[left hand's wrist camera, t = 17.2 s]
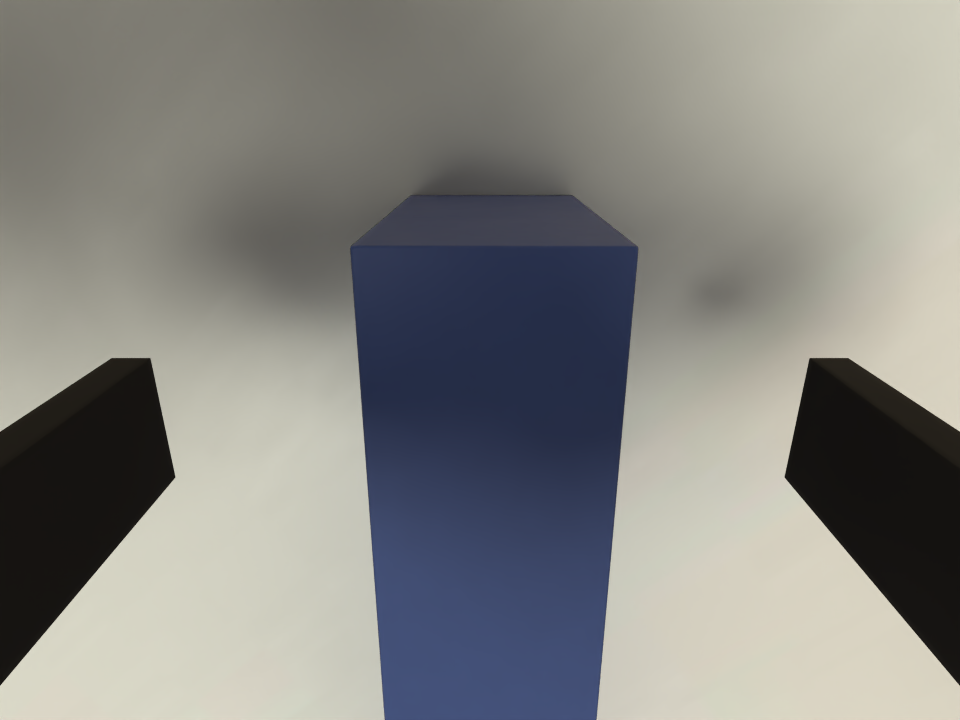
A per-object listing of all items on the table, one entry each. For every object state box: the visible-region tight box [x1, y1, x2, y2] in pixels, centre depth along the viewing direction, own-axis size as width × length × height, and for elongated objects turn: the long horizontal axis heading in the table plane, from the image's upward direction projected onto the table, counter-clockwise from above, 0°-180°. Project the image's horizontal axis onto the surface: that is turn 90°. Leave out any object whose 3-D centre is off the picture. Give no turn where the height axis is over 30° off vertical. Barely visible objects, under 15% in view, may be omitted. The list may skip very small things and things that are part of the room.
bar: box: [350, 195, 638, 720], centre depth 20 cm, size 27×5×9 cm, turn 0°
